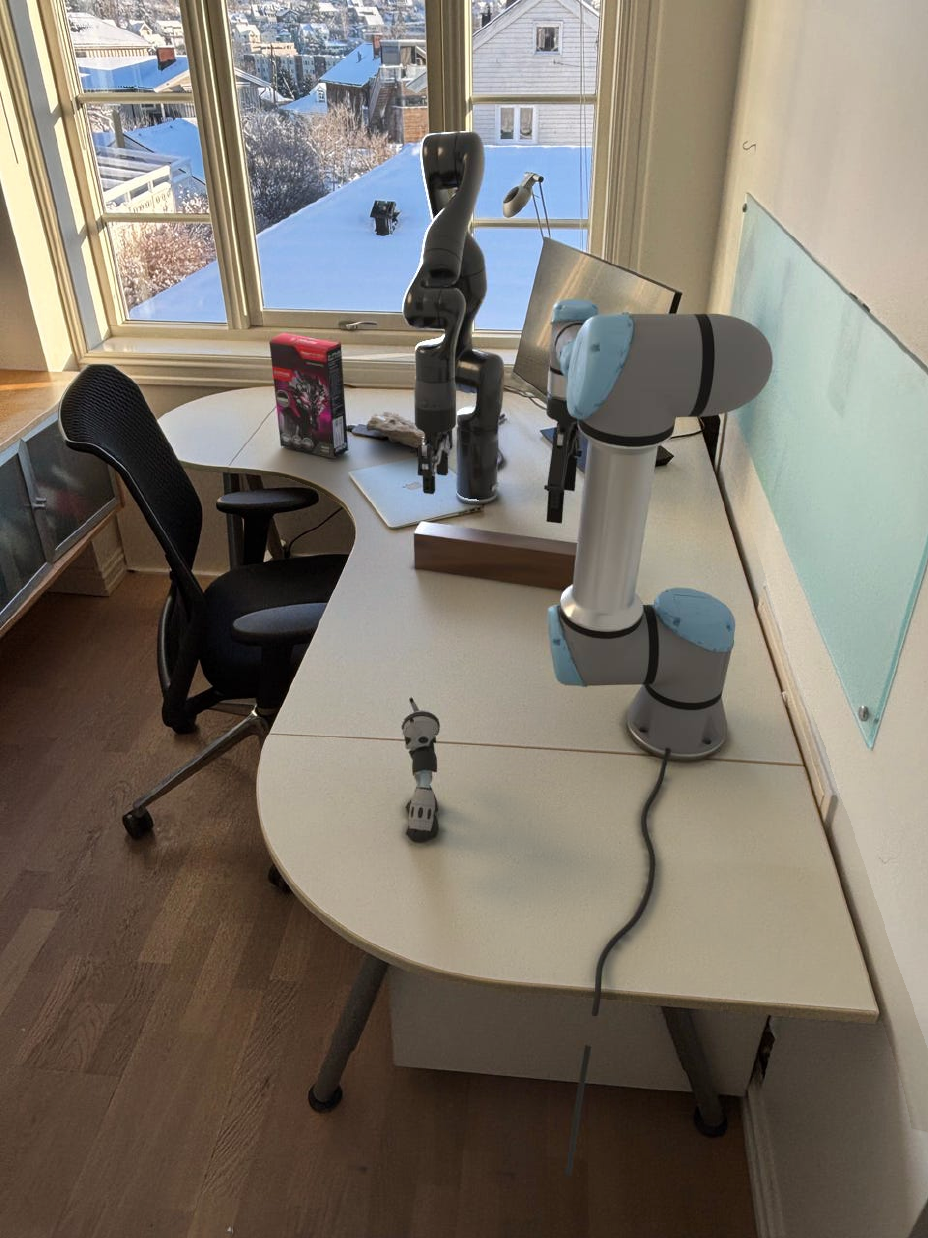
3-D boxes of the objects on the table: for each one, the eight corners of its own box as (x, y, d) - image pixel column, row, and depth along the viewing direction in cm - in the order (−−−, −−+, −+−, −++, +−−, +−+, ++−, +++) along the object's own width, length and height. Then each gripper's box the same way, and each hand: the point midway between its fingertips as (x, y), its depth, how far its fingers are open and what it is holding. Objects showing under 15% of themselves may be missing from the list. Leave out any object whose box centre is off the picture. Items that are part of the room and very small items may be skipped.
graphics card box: (278, 447, 232) (266, 338, 217) (294, 437, 237) (284, 331, 222) (334, 460, 225) (326, 350, 210) (350, 450, 230) (343, 341, 215)
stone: (350, 435, 230) (355, 412, 228) (372, 427, 244) (376, 405, 241) (428, 460, 227) (434, 436, 224) (446, 450, 240) (451, 427, 238)
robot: (442, 875, 119) (441, 760, 108) (404, 877, 119) (400, 761, 107) (438, 770, 135) (437, 660, 124) (405, 771, 135) (401, 661, 124)
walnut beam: (573, 592, 177) (576, 555, 172) (414, 568, 183) (413, 532, 179) (577, 578, 181) (581, 543, 176) (422, 556, 187) (421, 521, 183)
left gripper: (443, 417, 159) (444, 502, 168) (465, 390, 170) (465, 470, 179) (402, 412, 161) (405, 497, 170) (427, 385, 172) (428, 466, 181)
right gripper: (579, 422, 147) (569, 539, 159) (601, 372, 167) (591, 479, 179) (533, 417, 149) (527, 533, 161) (560, 368, 169) (553, 474, 181)
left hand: (435, 483), depth 175 cm, fingers open, 8 cm apart
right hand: (561, 505), depth 170 cm, fingers open, 13 cm apart
